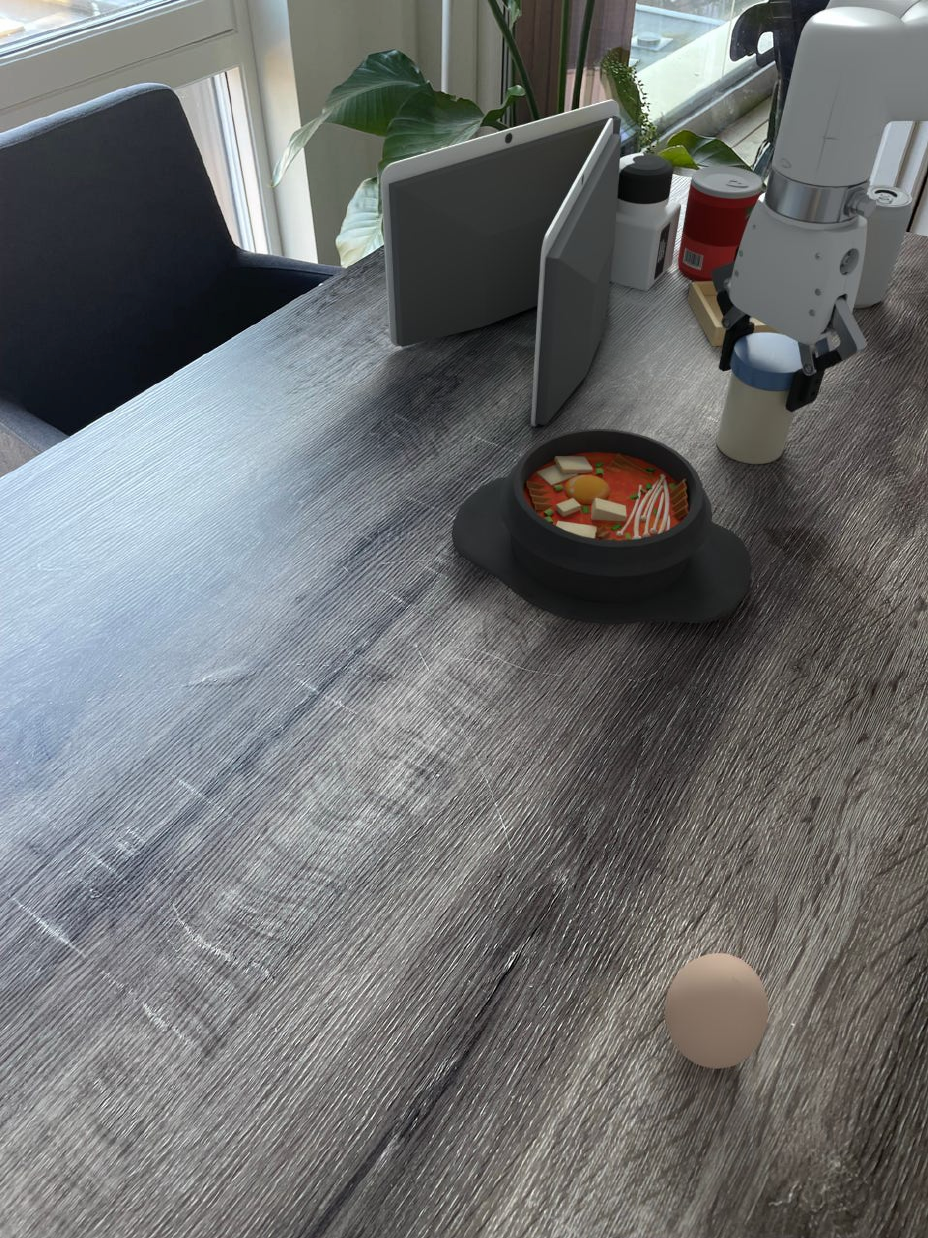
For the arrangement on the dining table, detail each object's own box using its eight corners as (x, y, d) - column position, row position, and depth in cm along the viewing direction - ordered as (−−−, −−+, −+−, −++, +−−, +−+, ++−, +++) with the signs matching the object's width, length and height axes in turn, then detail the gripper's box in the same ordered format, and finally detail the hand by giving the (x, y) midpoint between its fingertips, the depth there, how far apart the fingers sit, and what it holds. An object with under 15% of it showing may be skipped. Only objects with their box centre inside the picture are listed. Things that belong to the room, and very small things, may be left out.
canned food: (744, 288, 118) (765, 194, 110) (675, 282, 119) (691, 189, 111) (742, 258, 123) (761, 167, 115) (676, 253, 124) (691, 162, 116)
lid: (792, 347, 93) (797, 330, 92) (819, 388, 88) (824, 370, 87) (720, 351, 92) (724, 333, 91) (743, 392, 88) (747, 374, 86)
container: (672, 266, 121) (690, 155, 112) (647, 292, 116) (664, 179, 107) (613, 250, 124) (627, 141, 114) (587, 276, 119) (598, 164, 110)
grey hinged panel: (568, 438, 97) (588, 242, 83) (356, 403, 100) (341, 210, 86) (624, 273, 120) (647, 99, 106) (450, 250, 124) (450, 79, 110)
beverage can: (886, 290, 118) (920, 188, 109) (877, 315, 114) (912, 211, 105) (831, 279, 119) (860, 178, 111) (820, 303, 115) (850, 200, 107)
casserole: (764, 531, 87) (787, 452, 81) (721, 681, 75) (745, 601, 69) (496, 465, 93) (499, 387, 87) (417, 593, 81) (414, 514, 75)
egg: (743, 997, 58) (776, 930, 52) (756, 1091, 54) (793, 1031, 49) (652, 991, 58) (674, 923, 52) (659, 1085, 55) (683, 1024, 49)
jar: (771, 423, 99) (794, 336, 92) (792, 462, 94) (819, 374, 87) (708, 426, 98) (727, 340, 91) (726, 466, 94) (748, 378, 87)
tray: (797, 295, 117) (802, 276, 115) (828, 340, 110) (834, 321, 108) (687, 300, 116) (690, 281, 114) (711, 346, 109) (715, 327, 107)
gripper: (938, 219, 75) (868, 416, 88) (763, 146, 85) (723, 333, 98) (874, 245, 72) (811, 445, 85) (701, 166, 82) (668, 357, 95)
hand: (764, 384), depth 91 cm, fingers open, 7 cm apart
